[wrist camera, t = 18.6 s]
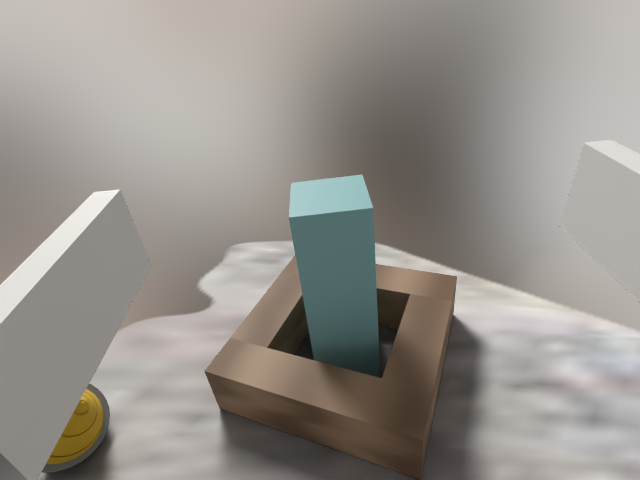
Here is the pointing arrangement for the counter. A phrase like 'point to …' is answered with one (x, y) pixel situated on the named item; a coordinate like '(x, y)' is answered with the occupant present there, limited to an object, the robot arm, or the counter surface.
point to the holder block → (343, 371)
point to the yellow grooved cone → (81, 432)
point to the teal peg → (337, 270)
